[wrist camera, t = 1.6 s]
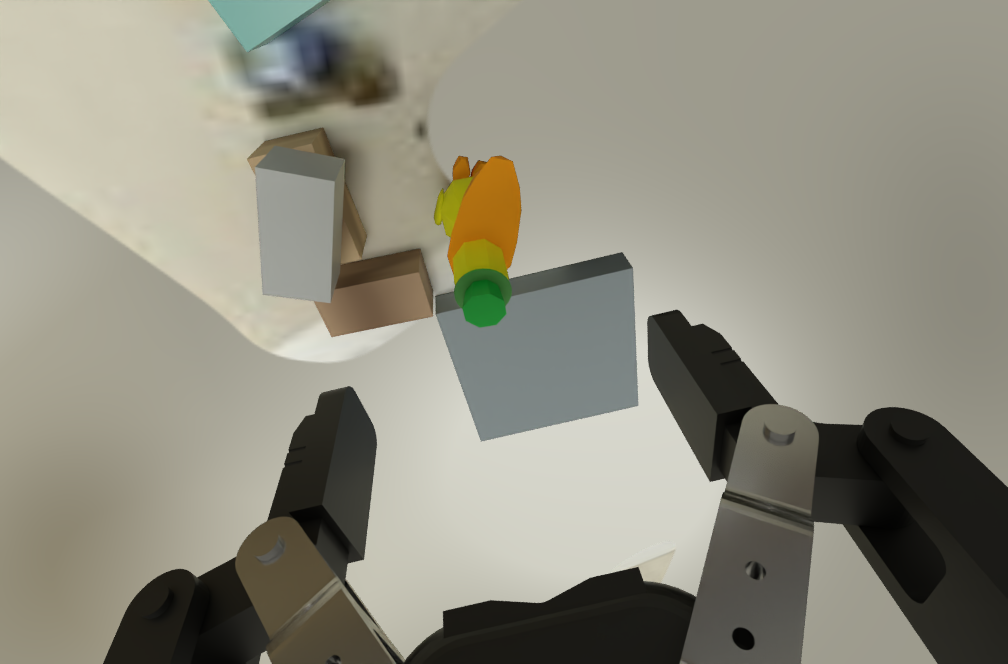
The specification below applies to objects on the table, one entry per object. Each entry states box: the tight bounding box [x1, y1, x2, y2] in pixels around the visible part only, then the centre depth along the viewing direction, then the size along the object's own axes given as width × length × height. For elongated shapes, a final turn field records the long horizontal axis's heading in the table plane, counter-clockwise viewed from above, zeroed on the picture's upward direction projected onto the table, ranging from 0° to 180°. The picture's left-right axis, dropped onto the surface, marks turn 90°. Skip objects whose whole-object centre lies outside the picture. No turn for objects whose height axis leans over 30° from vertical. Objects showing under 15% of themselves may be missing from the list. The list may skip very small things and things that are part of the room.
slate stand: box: [436, 252, 638, 441], centre depth 33 cm, size 12×12×2 cm
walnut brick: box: [314, 249, 433, 337], centre depth 28 cm, size 6×3×3 cm, turn 99°
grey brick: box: [255, 146, 345, 303], centre depth 22 cm, size 6×3×3 cm, turn 166°
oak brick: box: [247, 128, 367, 264], centre depth 24 cm, size 6×3×3 cm, turn 11°
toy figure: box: [434, 156, 521, 328], centre depth 21 cm, size 7×4×12 cm, turn 166°
